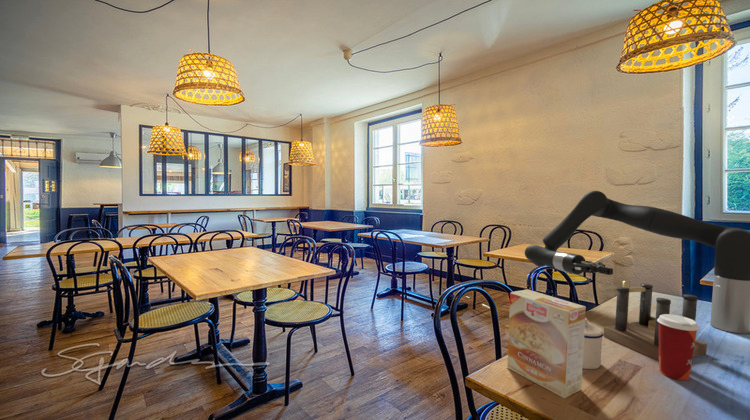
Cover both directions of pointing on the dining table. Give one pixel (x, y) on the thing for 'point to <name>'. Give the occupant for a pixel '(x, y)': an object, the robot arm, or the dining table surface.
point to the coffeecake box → (546, 341)
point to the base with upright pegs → (648, 336)
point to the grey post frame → (642, 301)
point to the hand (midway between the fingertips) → (611, 271)
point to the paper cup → (676, 345)
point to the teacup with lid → (592, 346)
